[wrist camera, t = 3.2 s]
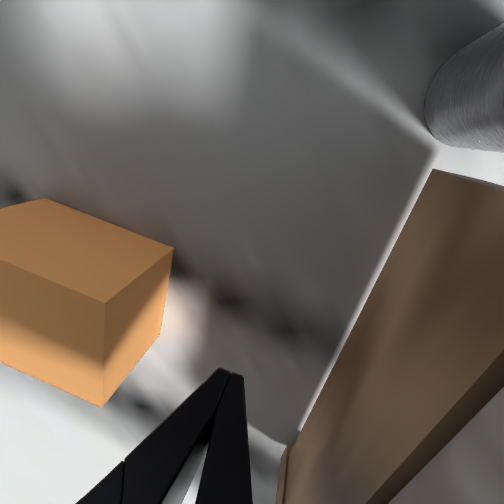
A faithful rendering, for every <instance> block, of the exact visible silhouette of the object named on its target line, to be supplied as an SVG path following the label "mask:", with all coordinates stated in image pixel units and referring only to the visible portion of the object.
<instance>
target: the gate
mask: <svg viewBox="0 0 504 504" xmlns="http://www.w3.org/2000/svg"><path fill="white" fill-rule="evenodd" d="M276 504H504V186H501V185H498V184H494V183H491V182H487V181H484V180H480V179H475V178H471V177H467V176H462V175H458V174H454V173H449V172H445V171H441V170H436V169H432V171H431V173H430V175H429V177H428V179H427V181H426V183H425V185H424V187H423V189H422V191H421V193H420V195H419V197H418V199H417V201H416V203H415V205H414V207H413V209H412V211H411V213H410V215H409V217H408V219H407V221H406V223H405V225H404V227H403V229H402V231H401V233H400V235H399V237H398V239H397V241H396V243H395V245H394V247H393V249H392V251H391V253H390V255H389V257H388V259H387V261H386V263H385V265H384V267H383V269H382V271H381V273H380V275H379V277H378V279H377V281H376V283H375V285H374V287H373V289H372V291H371V293H370V295H369V297H368V299H367V301H366V303H365V305H364V307H363V309H362V311H361V313H360V315H359V317H358V319H357V321H356V323H355V325H354V327H353V329H352V330H351V332H350V334H349V336H348V338H347V340H346V342H345V344H344V346H343V348H342V350H341V352H340V354H339V356H338V358H337V360H336V362H335V364H334V366H333V368H332V370H331V372H330V374H329V376H328V378H327V380H326V382H325V384H324V386H323V388H322V390H321V392H320V394H319V396H318V398H317V400H316V402H315V404H314V406H313V408H312V410H311V412H310V414H309V416H308V418H307V420H306V422H305V424H304V426H303V428H302V430H301V432H300V434H299V436H298V438H297V440H296V442H295V444H294V445H292V444H289V443H288V444H287V447H286V449H285V451H284V453H283V455H282V457H281V463H280V472H279V480H278V489H277V497H276Z"/></svg>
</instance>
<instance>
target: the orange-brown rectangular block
mask: <svg viewBox="0 0 504 504" xmlns="http://www.w3.org/2000/svg"><path fill="white" fill-rule="evenodd" d="M173 253H174V248H173V247H171V246H168V245H166V244H163V243H161V242H158V241H155V240H153V239H150V238H148V237H145V236H142V235H140V234H137V233H135V232H132V231H129V230H127V229H124V228H122V227H119V226H117V225H114V224H111V223H109V222H106V221H104V220H101V219H98V218H96V217H93V216H91V215H88V214H85V213H83V212H80V211H78V210H75V209H73V208H70V207H67V206H65V205H62V204H60V203H57V202H54V201H52V200H49V199H47V198H42V199H37V200H33V201H29V202H25V203H21V204H16V205H12V206H8V207H4V208H0V362H2V363H4V364H6V365H8V366H10V367H13V368H15V369H17V370H19V371H22V372H24V373H26V374H28V375H30V376H33V377H35V378H37V379H39V380H42V381H44V382H46V383H48V384H50V385H53V386H55V387H57V388H59V389H62V390H64V391H66V392H68V393H70V394H73V395H75V396H77V397H79V398H82V399H84V400H86V401H88V402H90V403H93V404H95V405H97V406H99V407H103V406H104V405H105V404H106V402H107V401H108V400H109V398H110V397H111V396H112V395H113V393H114V392H115V391H116V390H117V388H118V387H119V386H120V384H121V383H122V382H123V381H124V379H125V378H126V377H127V376H128V374H129V373H130V372H131V371H132V369H133V368H134V367H135V365H136V364H137V363H138V362H139V360H140V359H141V358H142V357H143V355H144V354H145V353H146V352H147V350H148V349H149V348H150V346H151V345H152V344H153V343H154V341H155V340H156V339H157V338H158V336H159V335H160V331H161V325H162V319H163V313H164V307H165V301H166V295H167V289H168V283H169V277H170V271H171V265H172V259H173Z"/></svg>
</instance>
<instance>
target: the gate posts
mask: <svg viewBox="0 0 504 504" xmlns="http://www.w3.org/2000/svg"><path fill="white" fill-rule="evenodd" d="M424 116H425V121H426V124H427V127H428V129H429V130H430V132H431V133H432V135H433V136H434V137H435V138H436V139H437V140H439V141H440V142H442V143H444V144H446V145H449V146H452V147H458V148H467V149H476V150H485V151H494V152H503V153H504V23H503V24H501V25H500V26H498V27H496V28H495V29H493V30H491V31H490V32H488V33H486V34H485V35H483V36H481V37H479V38H478V39H476V40H474V41H473V42H471V43H469V44H468V45H466V46H464V47H463V48H461V49H460V50H459V51H457V52H456V53H455V54H453V55H452V56H451V57H450V58H449V59H448V60H447V61H446V62H445V63H444V64H443V65H442V66H441V68H440V69H439V70H438V72H437V73H436V75H435V76H434V78H433V80H432V82H431V84H430V86H429V88H428V91H427V94H426V98H425V104H424Z"/></svg>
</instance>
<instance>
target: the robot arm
mask: <svg viewBox="0 0 504 504" xmlns="http://www.w3.org/2000/svg"><path fill="white" fill-rule="evenodd" d="M208 444H209V445H208ZM207 447H208V449H207ZM206 449H207V454H206V458H205V462H204V467H203V471H202V476H201V480H200V485H199V489H198V493H197V498H196V502H195V504H253V502H252V487H251V473H250V459H249V445H248V431H247V416H246V402H245V388H244V377H243V376H242V375H240V374H237V373H234V372H232V373H231V372H230V371H228V370H226V369H223V368H218V369H217V370H216V371H215V372H214V373H213V374H212V375H211V376H209V377H208V378H207V379H206V380H205V381H204V382H203V383H202V384H201V385H200V386H199V387H198V388H197V389H196V390H195V391H194V392H193V393H192V394H191V395H190V396H189V397H188V398H187V399H186V400H185V401H184V402H183V403H182V404H181V405H179V406H178V407H177V408H176V409H175V410H174V411H173V412H172V413H171V414H170V415H169V416H168V417H167V418H166V419H165V420H164V421H163V422H162V423H161V424H160V425H159V426H158V427H157V428H156V429H155V430H154V431H153V432H152V433H150V434H149V435H148V436H147V437H146V438H145V439H144V440H143V441H142V442H141V443H140V444H139V445H138V446H137V447H136V448H135V449H134V450H133V451H132V452H131V453H130V454H129V455H128V456H127V457H126V458H125V460H124V461H121V462H120V463H119V464H118V465H117V466H116V467H115V468H114V469H113V470H112V471H111V472H110V473H109V474H108V475H107V476H106V477H105V478H104V479H102V480H101V481H100V482H99V483H98V484H97V485H96V486H95V487H94V488H93V489H92V490H90V491H89V492H88V493H87V494H86V495H85V496H84V497H83V498H81V499H80V500H79V501H78V502H77V503H76V504H182V502H183V500H184V497H185V495H186V493H187V491H188V489H189V487H190V484H191V482H192V480H193V478H194V476H195V473H196V471H197V469H198V467H199V465H200V462H201V460H202V458H203V456H204V454H205V451H206Z"/></svg>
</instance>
